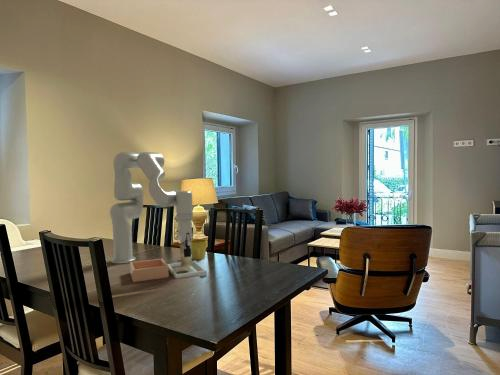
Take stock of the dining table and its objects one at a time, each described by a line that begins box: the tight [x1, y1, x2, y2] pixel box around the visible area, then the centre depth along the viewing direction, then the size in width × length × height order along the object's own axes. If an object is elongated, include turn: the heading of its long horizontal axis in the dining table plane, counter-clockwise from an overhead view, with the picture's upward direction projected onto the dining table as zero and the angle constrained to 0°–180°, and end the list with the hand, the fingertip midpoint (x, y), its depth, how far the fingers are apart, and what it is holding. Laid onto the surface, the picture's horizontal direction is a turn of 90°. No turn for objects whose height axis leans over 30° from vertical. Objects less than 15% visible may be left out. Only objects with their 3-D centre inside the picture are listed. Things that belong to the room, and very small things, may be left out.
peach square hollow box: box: [129, 258, 170, 283], centre depth 157 cm, size 15×15×6 cm
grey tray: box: [166, 260, 208, 279], centre depth 163 cm, size 20×14×2 cm
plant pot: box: [191, 238, 208, 261], centre depth 190 cm, size 10×10×10 cm
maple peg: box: [179, 241, 193, 268], centre depth 163 cm, size 5×5×12 cm
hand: (186, 255), depth 163 cm, fingers closed on maple peg, 5 cm apart
